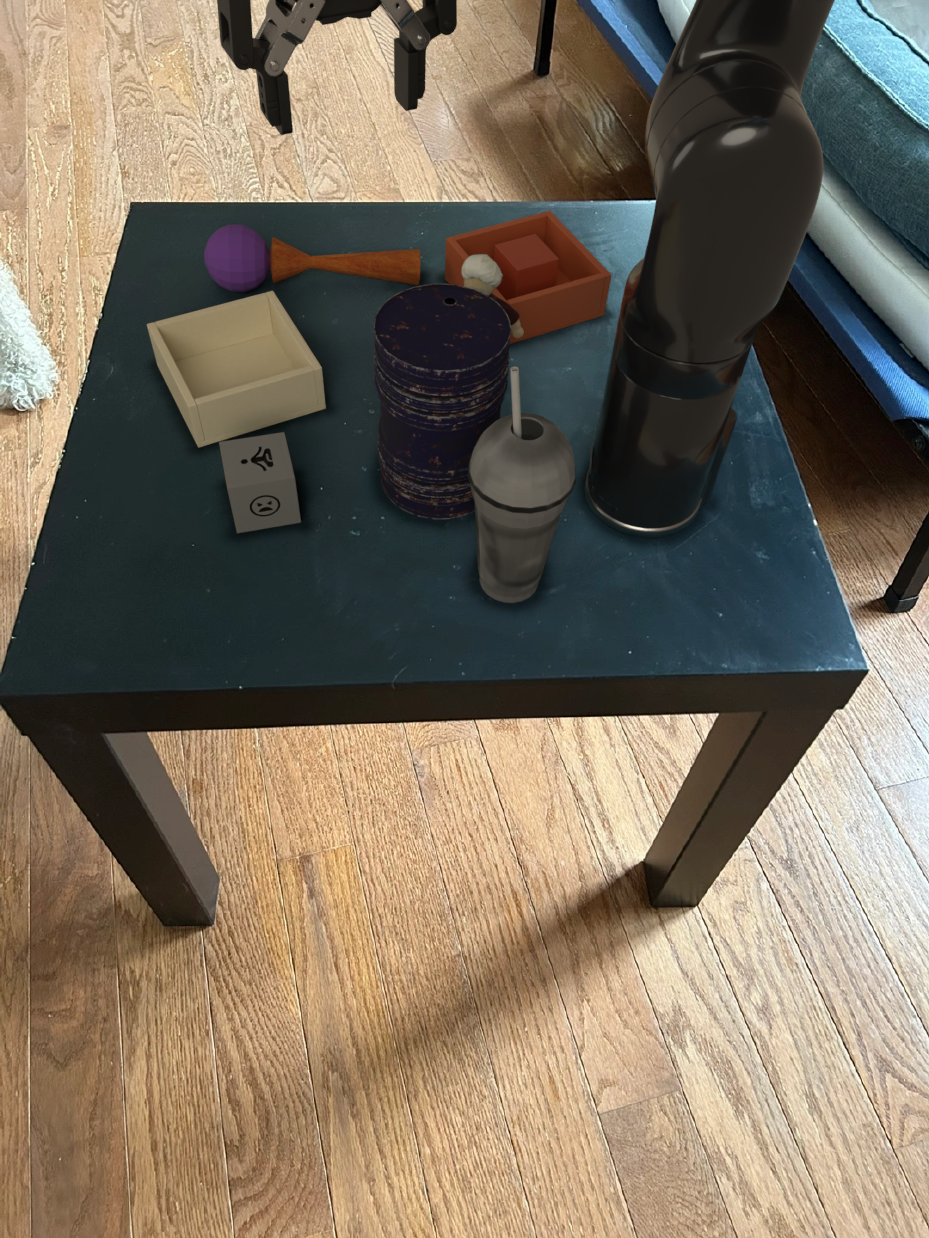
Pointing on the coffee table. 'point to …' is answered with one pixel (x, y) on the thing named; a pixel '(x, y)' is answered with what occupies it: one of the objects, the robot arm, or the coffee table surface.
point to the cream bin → (237, 367)
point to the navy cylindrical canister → (437, 392)
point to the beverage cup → (518, 498)
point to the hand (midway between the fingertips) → (345, 116)
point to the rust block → (525, 266)
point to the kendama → (295, 261)
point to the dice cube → (260, 482)
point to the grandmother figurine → (489, 285)
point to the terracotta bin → (576, 280)
